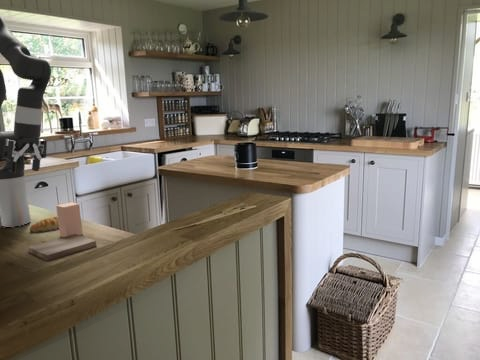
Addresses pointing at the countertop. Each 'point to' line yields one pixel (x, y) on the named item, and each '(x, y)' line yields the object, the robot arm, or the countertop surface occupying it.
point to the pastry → (45, 225)
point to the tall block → (69, 219)
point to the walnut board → (61, 246)
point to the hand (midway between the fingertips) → (24, 171)
